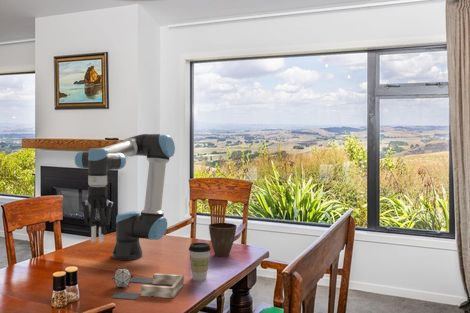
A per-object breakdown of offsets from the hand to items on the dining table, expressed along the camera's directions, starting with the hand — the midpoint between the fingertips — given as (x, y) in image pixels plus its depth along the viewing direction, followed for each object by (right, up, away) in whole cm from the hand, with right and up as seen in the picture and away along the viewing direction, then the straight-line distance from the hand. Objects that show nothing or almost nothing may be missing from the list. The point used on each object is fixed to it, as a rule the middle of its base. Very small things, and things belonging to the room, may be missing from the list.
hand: (97, 241), depth 174 cm
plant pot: (+51, -18, +51) cm, 74 cm away
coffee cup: (+42, -19, +12) cm, 47 cm away
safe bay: (+27, -19, -3) cm, 34 cm away
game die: (+11, -19, -1) cm, 22 cm away
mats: (+16, -19, -1) cm, 25 cm away
